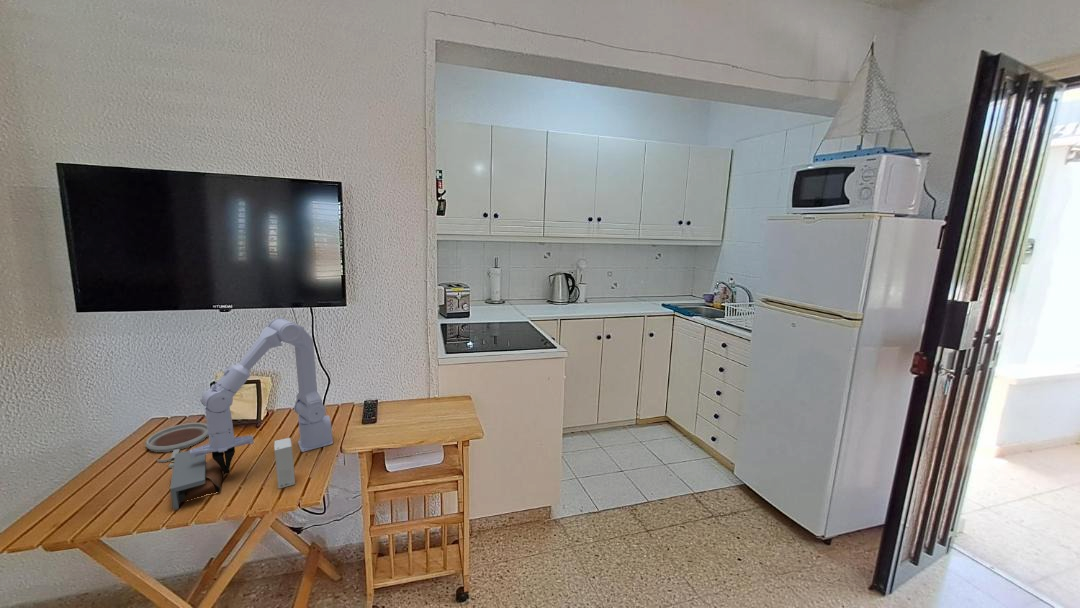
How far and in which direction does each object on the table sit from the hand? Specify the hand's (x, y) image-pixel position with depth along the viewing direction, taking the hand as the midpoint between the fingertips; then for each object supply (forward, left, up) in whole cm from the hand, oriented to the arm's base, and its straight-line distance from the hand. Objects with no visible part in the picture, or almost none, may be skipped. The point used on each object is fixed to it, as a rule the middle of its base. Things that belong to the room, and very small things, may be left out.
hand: (226, 472), depth 125 cm
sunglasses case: (+5, -1, -2) cm, 5 cm away
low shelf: (+8, 0, -1) cm, 8 cm away
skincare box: (-14, +12, -2) cm, 18 cm away
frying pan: (+12, -28, -2) cm, 31 cm away
